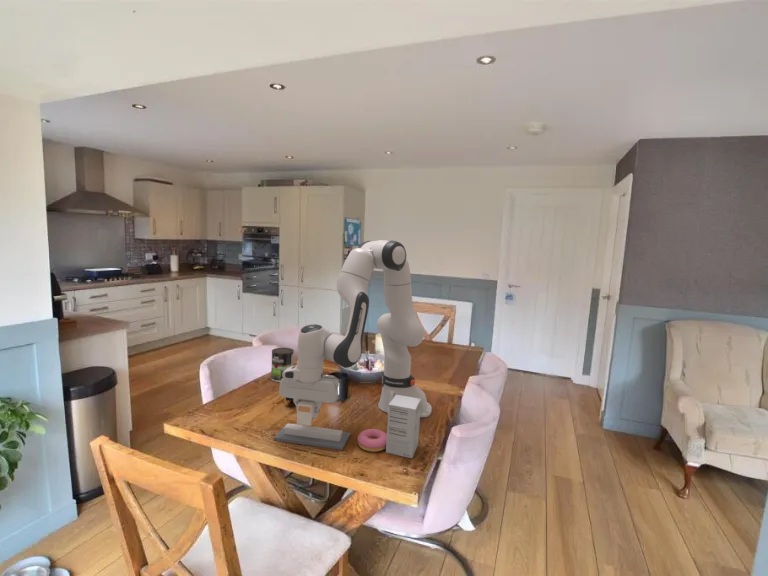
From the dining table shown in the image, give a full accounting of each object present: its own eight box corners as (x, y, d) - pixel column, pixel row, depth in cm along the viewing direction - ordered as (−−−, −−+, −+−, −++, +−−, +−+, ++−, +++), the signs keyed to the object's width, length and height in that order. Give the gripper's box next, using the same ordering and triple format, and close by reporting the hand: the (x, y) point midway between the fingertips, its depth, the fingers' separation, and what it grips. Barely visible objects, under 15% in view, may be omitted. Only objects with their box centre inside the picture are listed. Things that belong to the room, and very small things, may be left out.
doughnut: (350, 446, 131) (350, 434, 131) (369, 434, 140) (370, 423, 140) (377, 457, 125) (377, 445, 125) (395, 444, 134) (395, 432, 134)
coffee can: (284, 383, 184) (285, 354, 182) (266, 379, 188) (267, 351, 186) (297, 377, 193) (298, 349, 192) (279, 373, 197) (280, 346, 195)
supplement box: (392, 439, 137) (395, 393, 135) (418, 444, 134) (421, 398, 133) (385, 453, 128) (387, 404, 126) (412, 459, 125) (415, 409, 123)
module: (317, 416, 138) (318, 397, 137) (310, 426, 130) (311, 406, 130) (304, 415, 138) (305, 396, 138) (296, 424, 131) (297, 404, 130)
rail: (350, 435, 138) (350, 427, 138) (342, 450, 128) (343, 440, 128) (286, 426, 142) (286, 418, 141) (274, 440, 132) (274, 431, 132)
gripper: (341, 373, 134) (339, 411, 136) (285, 366, 137) (284, 404, 139) (336, 379, 128) (334, 419, 129) (277, 372, 131) (276, 411, 133)
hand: (307, 411), depth 134 cm, fingers closed on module, 5 cm apart
